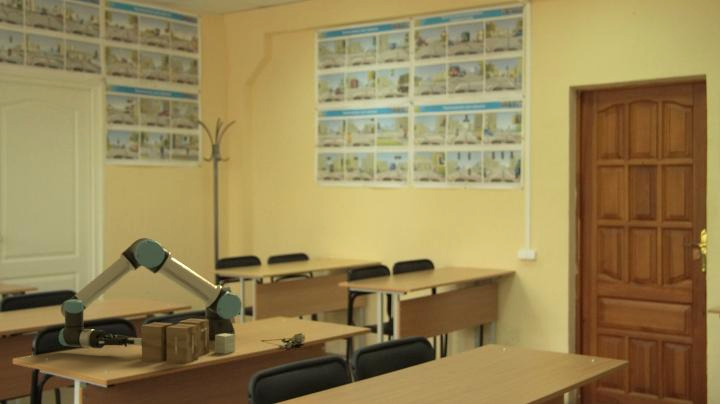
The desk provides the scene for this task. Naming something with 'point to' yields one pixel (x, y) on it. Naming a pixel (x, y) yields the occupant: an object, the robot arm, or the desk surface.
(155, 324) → the plain block
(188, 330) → the block one
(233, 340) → the product box
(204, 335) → the block seven
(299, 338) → the toy
